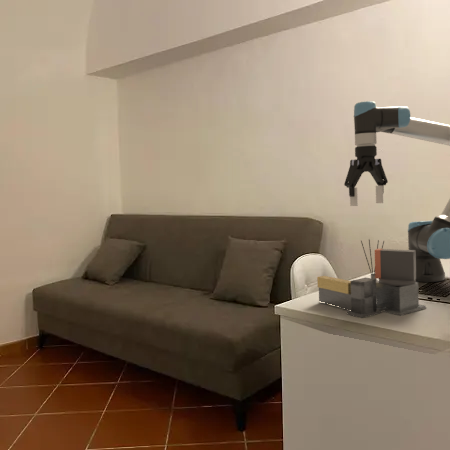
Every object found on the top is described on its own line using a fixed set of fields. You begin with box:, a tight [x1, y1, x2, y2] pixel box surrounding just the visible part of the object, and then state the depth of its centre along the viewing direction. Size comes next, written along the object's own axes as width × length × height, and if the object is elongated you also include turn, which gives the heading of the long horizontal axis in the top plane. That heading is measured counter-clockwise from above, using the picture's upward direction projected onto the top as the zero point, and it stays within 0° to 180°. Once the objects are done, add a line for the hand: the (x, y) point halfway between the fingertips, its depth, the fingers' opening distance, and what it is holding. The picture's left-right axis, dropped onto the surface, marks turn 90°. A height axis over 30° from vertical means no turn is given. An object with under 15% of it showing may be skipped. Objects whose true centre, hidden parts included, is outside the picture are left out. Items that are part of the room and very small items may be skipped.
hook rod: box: [316, 275, 352, 294], centre depth 165 cm, size 3×14×4 cm, turn 33°
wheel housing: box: [376, 281, 427, 316], centre depth 159 cm, size 12×12×8 cm
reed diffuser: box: [360, 238, 385, 283], centre depth 177 cm, size 10×7×20 cm
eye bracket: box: [318, 277, 383, 319], centre depth 162 cm, size 9×22×10 cm, turn 33°
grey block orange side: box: [374, 248, 417, 286], centre depth 158 cm, size 12×11×10 cm
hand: (367, 204), depth 183 cm, fingers open, 13 cm apart
